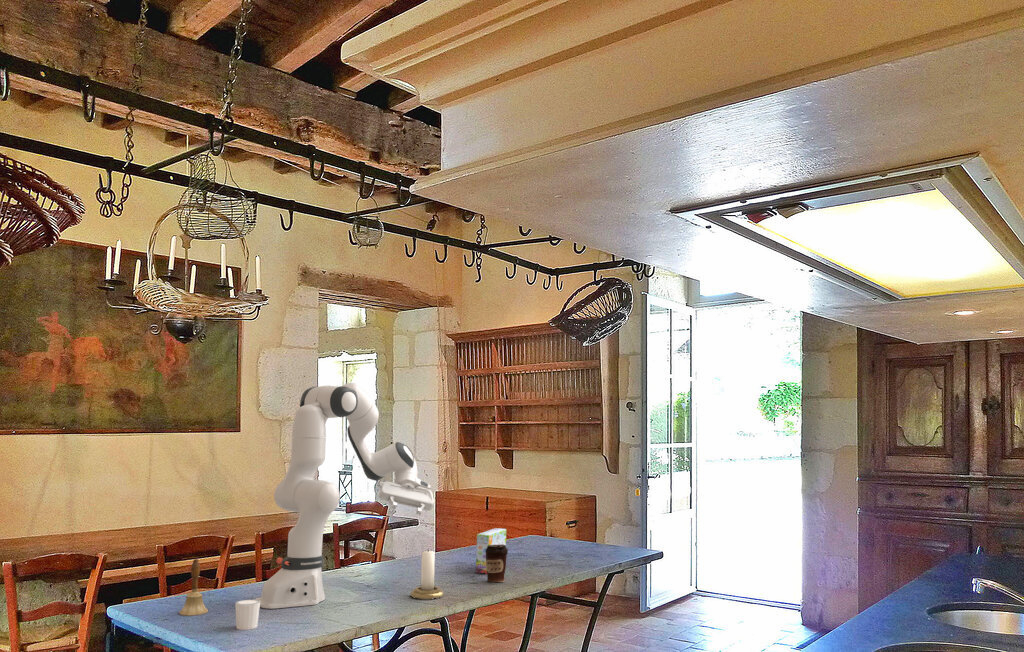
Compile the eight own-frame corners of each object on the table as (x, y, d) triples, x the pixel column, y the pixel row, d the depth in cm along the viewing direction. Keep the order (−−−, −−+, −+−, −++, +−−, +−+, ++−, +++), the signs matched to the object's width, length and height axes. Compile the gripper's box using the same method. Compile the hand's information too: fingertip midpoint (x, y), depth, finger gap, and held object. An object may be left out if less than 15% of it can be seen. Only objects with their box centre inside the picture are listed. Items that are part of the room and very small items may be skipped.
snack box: (488, 574, 310) (489, 534, 312) (475, 573, 312) (475, 534, 313) (506, 565, 330) (506, 528, 332) (493, 564, 332) (494, 527, 333)
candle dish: (421, 601, 263) (421, 593, 263) (404, 595, 271) (405, 587, 272) (449, 596, 269) (450, 589, 270) (432, 591, 278) (432, 584, 278)
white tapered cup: (228, 628, 226) (230, 603, 227) (245, 623, 233) (246, 598, 234) (248, 631, 224) (249, 605, 225) (264, 625, 230) (265, 600, 231)
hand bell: (207, 614, 243) (209, 560, 245) (177, 616, 240) (180, 562, 242) (209, 608, 251) (211, 556, 253) (180, 610, 248) (183, 557, 250)
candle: (425, 593, 267) (426, 550, 269) (418, 591, 271) (419, 549, 273) (436, 591, 270) (437, 549, 272) (429, 589, 274) (430, 548, 275)
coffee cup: (504, 584, 291) (505, 547, 293) (482, 583, 293) (482, 546, 294) (509, 579, 300) (509, 544, 301) (488, 578, 301) (488, 543, 303)
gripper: (382, 473, 296) (381, 496, 284) (434, 485, 302) (436, 509, 289) (377, 486, 298) (376, 510, 286) (429, 498, 304) (430, 523, 292)
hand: (406, 510), depth 288 cm, fingers open, 8 cm apart
